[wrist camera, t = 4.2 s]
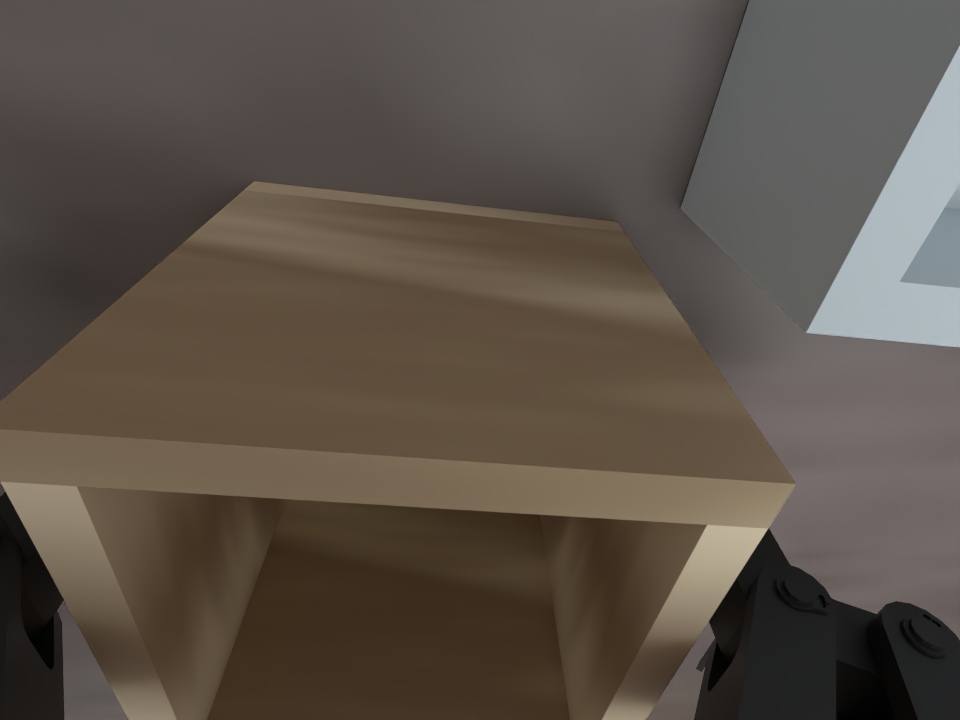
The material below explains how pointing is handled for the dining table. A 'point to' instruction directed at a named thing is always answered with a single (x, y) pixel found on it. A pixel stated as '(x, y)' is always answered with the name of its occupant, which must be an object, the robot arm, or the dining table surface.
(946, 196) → the light blue crate
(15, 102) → the dining table surface
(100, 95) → the dining table surface
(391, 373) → the birch crate
